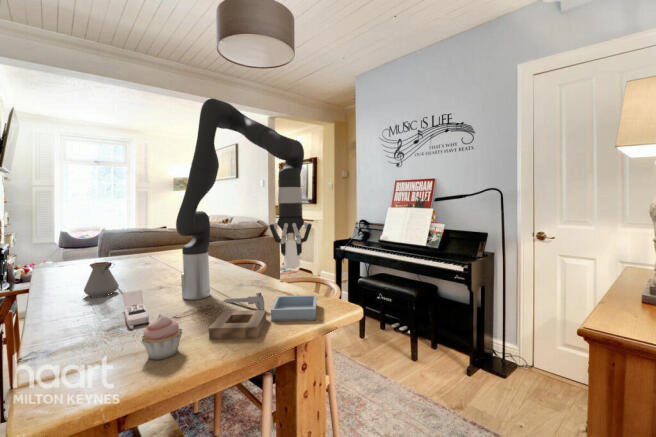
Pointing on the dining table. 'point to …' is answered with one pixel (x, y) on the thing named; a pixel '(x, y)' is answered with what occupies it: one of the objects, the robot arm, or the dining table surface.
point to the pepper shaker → (291, 252)
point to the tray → (294, 308)
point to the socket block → (238, 324)
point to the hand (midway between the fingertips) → (291, 254)
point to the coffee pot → (101, 280)
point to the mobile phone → (134, 308)
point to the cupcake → (161, 337)
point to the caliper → (250, 300)
